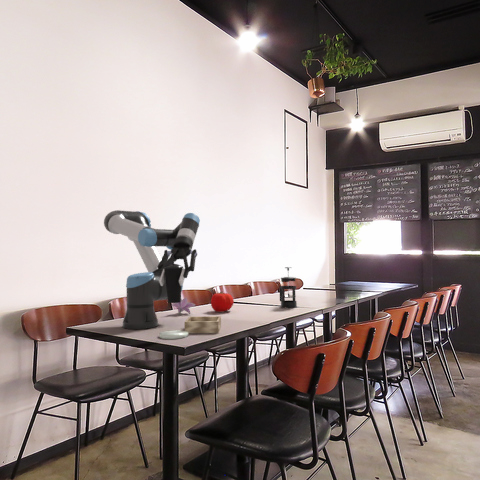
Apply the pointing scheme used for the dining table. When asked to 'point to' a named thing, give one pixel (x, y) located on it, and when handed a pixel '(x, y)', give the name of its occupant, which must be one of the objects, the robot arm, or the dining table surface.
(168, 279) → the drinking cup
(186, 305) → the lily
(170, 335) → the disc
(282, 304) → the french press
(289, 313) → the dining table surface
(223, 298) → the tomato
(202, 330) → the crate
